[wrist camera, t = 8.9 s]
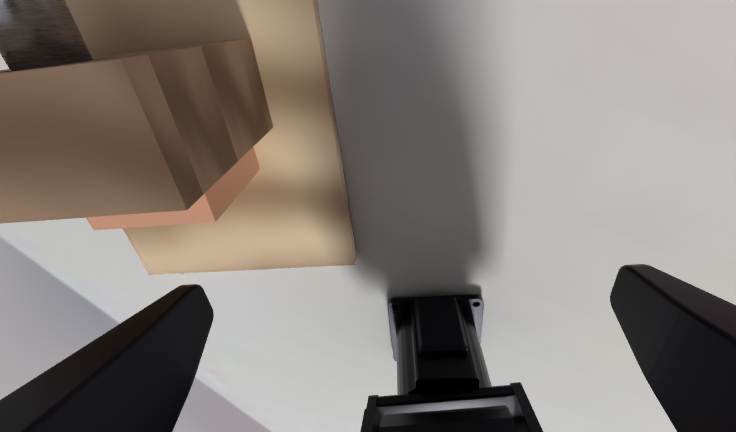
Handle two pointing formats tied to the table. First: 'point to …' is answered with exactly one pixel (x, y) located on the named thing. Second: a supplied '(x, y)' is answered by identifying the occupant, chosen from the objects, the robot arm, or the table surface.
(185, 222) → the spacer
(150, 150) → the bearing block
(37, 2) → the shaft
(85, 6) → the base plate
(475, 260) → the table surface
